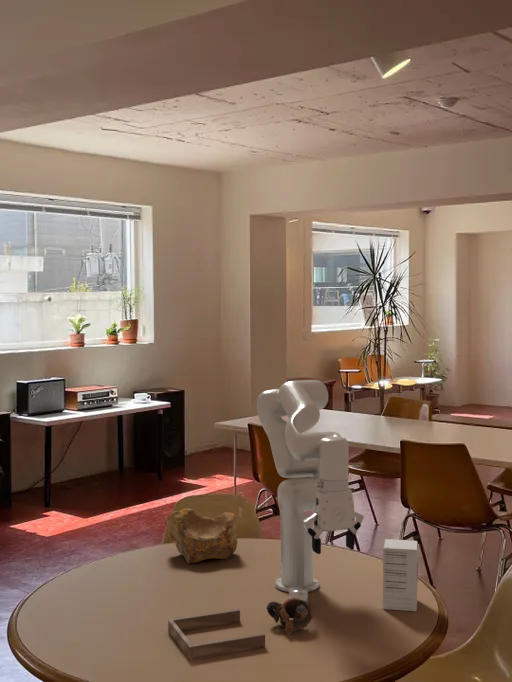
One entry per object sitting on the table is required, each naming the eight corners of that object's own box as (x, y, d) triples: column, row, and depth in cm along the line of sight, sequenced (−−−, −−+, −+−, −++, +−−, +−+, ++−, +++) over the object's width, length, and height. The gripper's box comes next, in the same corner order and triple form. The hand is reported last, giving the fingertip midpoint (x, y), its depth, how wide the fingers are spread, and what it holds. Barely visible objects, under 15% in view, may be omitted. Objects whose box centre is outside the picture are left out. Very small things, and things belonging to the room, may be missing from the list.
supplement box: (417, 612, 225) (417, 550, 224) (382, 609, 227) (382, 548, 226) (417, 599, 234) (418, 539, 233) (384, 597, 236) (384, 538, 235)
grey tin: (286, 606, 229) (286, 588, 229) (302, 603, 231) (302, 586, 231) (293, 612, 225) (293, 594, 224) (310, 610, 226) (310, 592, 226)
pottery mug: (312, 621, 220) (317, 600, 215) (303, 650, 212) (308, 629, 208) (268, 606, 222) (272, 585, 218) (258, 634, 214) (262, 613, 210)
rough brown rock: (160, 568, 263) (161, 523, 261) (167, 548, 280) (168, 505, 278) (235, 571, 263) (236, 525, 261) (237, 551, 279) (238, 507, 277)
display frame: (168, 631, 212) (168, 619, 212) (238, 620, 219) (238, 609, 219) (189, 659, 196) (189, 647, 195) (265, 647, 203) (265, 634, 202)
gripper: (310, 491, 210) (310, 558, 211) (370, 485, 217) (369, 550, 218) (297, 485, 217) (297, 550, 218) (355, 479, 224) (355, 542, 225)
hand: (333, 550), depth 218 cm, fingers open, 9 cm apart
